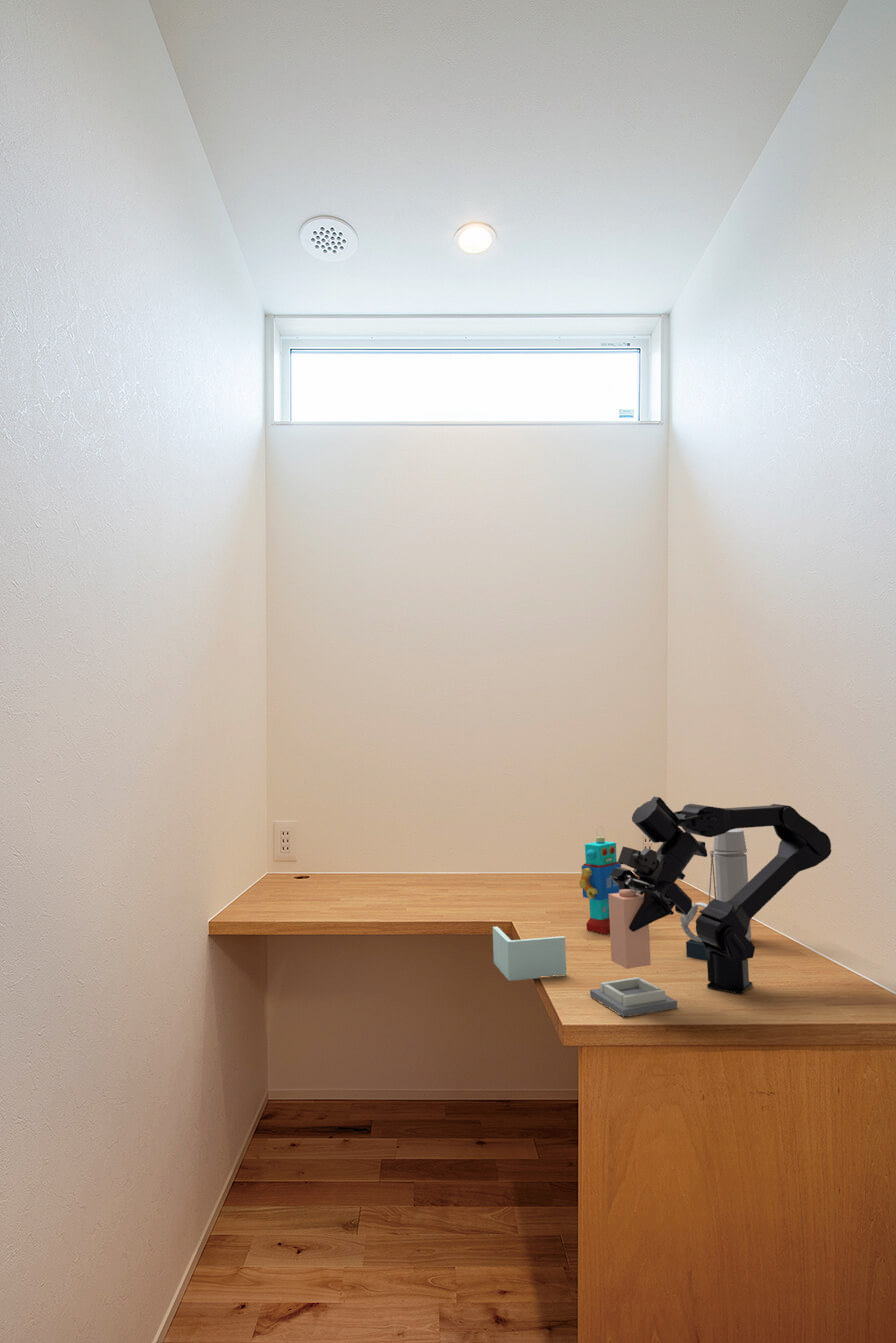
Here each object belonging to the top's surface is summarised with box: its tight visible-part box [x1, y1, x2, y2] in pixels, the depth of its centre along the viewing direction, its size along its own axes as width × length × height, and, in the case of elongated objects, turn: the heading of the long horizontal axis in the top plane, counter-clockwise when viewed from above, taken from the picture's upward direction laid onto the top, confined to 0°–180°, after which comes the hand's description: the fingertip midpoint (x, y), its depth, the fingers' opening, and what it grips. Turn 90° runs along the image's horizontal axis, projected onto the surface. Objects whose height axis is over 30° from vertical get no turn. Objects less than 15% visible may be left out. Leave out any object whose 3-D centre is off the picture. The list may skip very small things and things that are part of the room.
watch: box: [679, 901, 711, 961], centre depth 162 cm, size 6×8×11 cm
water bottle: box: [707, 828, 752, 942], centre depth 174 cm, size 9×8×25 cm
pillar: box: [609, 889, 652, 969], centre depth 137 cm, size 5×5×13 cm
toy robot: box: [578, 825, 622, 935], centre depth 186 cm, size 12×6×25 cm, turn 131°
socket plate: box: [589, 976, 678, 1017], centre depth 136 cm, size 11×11×3 cm
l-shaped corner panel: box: [492, 926, 567, 982], centre depth 156 cm, size 12×12×8 cm
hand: (622, 926), depth 136 cm, fingers closed on pillar, 5 cm apart
